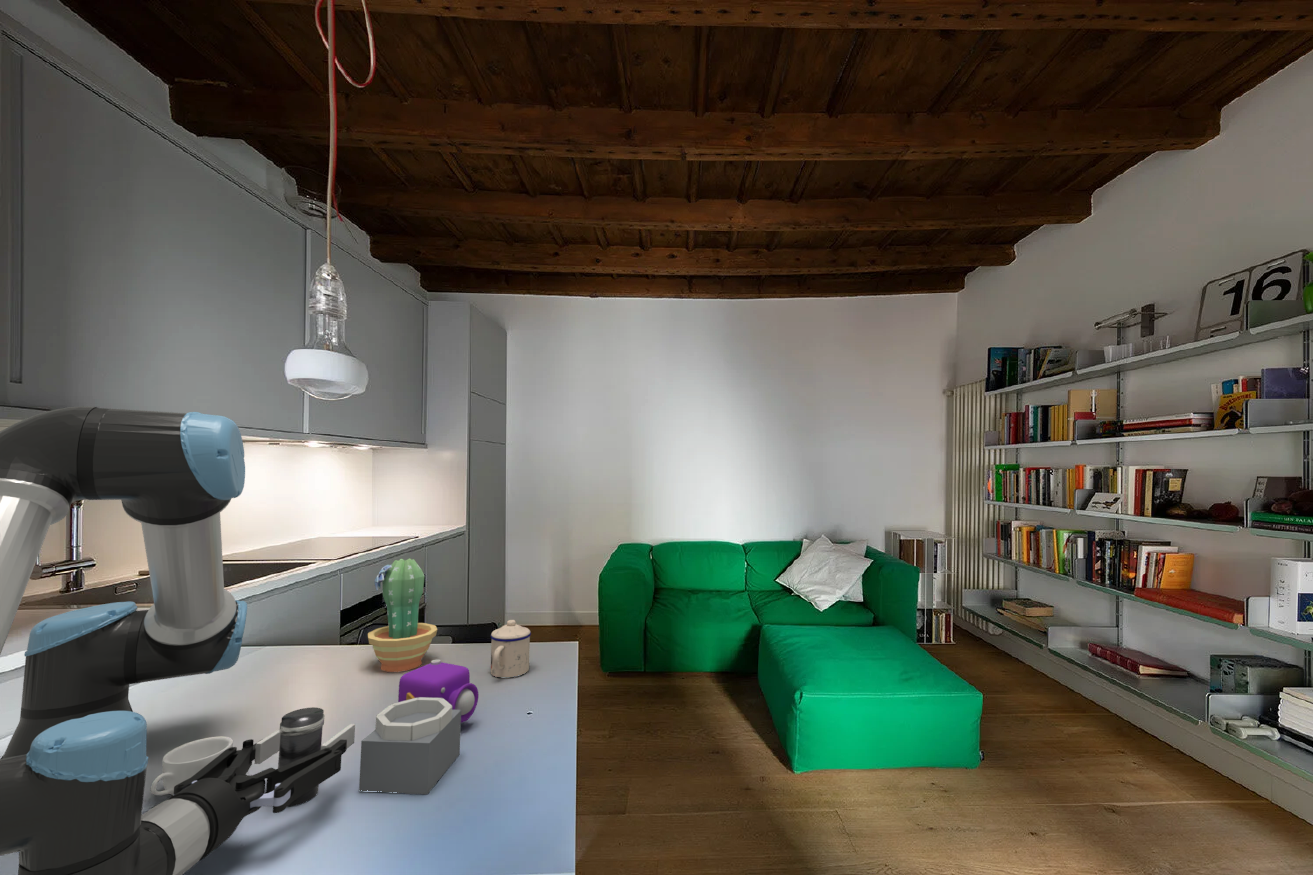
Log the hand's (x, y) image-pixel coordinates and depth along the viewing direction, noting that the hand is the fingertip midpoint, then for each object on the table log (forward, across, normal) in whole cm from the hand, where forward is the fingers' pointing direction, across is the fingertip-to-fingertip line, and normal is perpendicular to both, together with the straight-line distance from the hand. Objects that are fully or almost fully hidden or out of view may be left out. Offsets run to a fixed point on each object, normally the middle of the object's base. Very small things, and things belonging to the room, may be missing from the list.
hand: (322, 732), depth 80 cm
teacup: (-5, -16, -7) cm, 18 cm away
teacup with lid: (+43, +14, -7) cm, 46 cm away
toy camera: (+18, +10, -7) cm, 22 cm away
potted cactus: (+47, -13, -7) cm, 50 cm away
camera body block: (+2, +13, -6) cm, 15 cm away
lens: (-5, 0, -6) cm, 8 cm away
